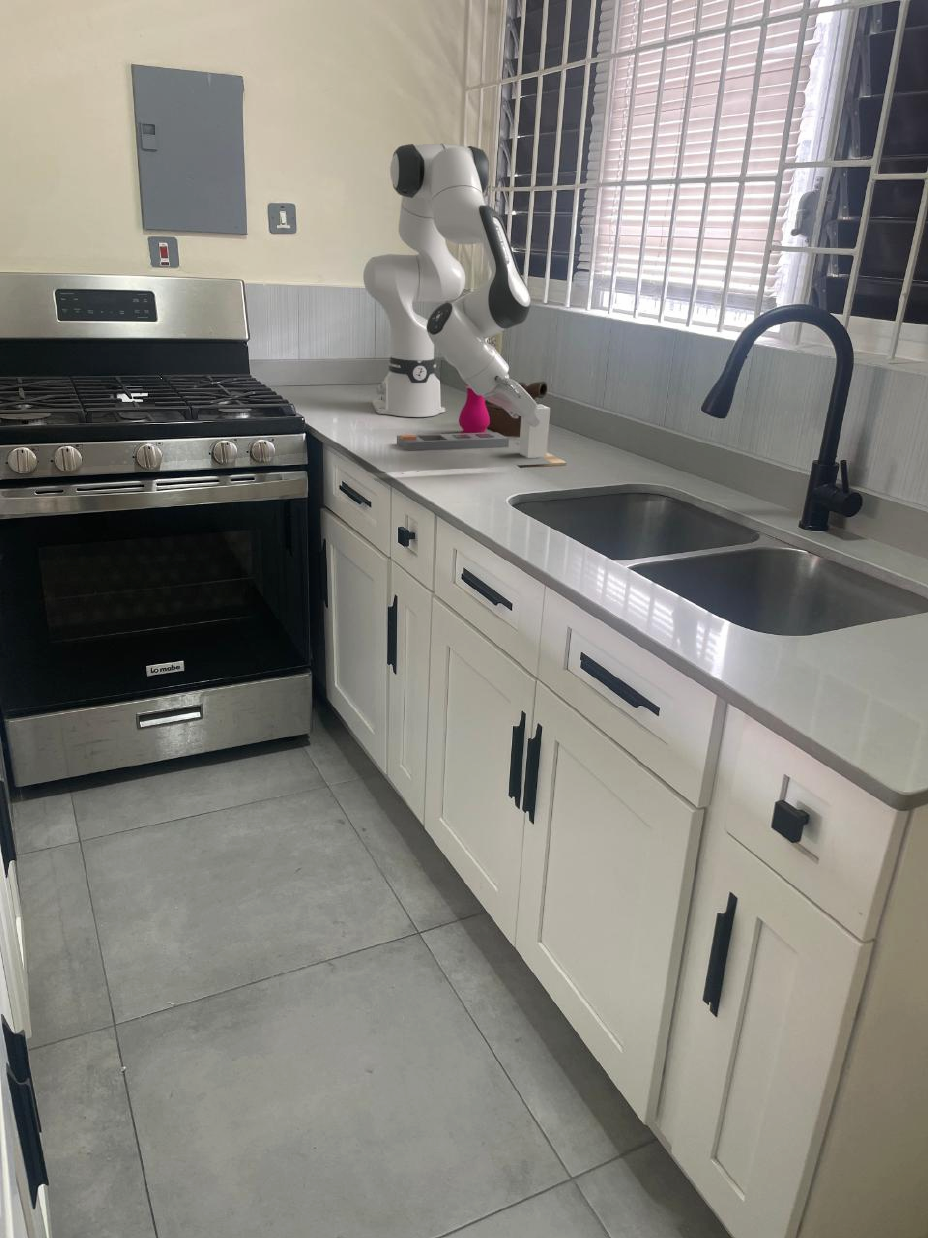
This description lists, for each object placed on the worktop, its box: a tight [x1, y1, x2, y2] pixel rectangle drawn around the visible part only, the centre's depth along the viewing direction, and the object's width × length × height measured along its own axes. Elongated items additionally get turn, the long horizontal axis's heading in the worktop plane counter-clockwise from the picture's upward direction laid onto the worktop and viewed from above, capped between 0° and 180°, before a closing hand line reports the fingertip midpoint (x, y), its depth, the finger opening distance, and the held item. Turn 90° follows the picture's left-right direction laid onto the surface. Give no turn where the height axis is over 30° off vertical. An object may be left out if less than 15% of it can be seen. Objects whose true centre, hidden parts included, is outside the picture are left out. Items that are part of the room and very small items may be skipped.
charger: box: [518, 403, 551, 460], centre depth 201 cm, size 4×4×11 cm
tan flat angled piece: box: [516, 452, 568, 468], centre depth 203 cm, size 11×11×1 cm
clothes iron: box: [484, 381, 548, 437], centre depth 226 cm, size 8×16×13 cm, turn 51°
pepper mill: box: [458, 383, 490, 434], centre depth 216 cm, size 7×7×20 cm
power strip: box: [396, 431, 520, 452], centre depth 209 cm, size 7×32×4 cm, turn 111°
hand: (526, 420), depth 199 cm, fingers open, 8 cm apart
